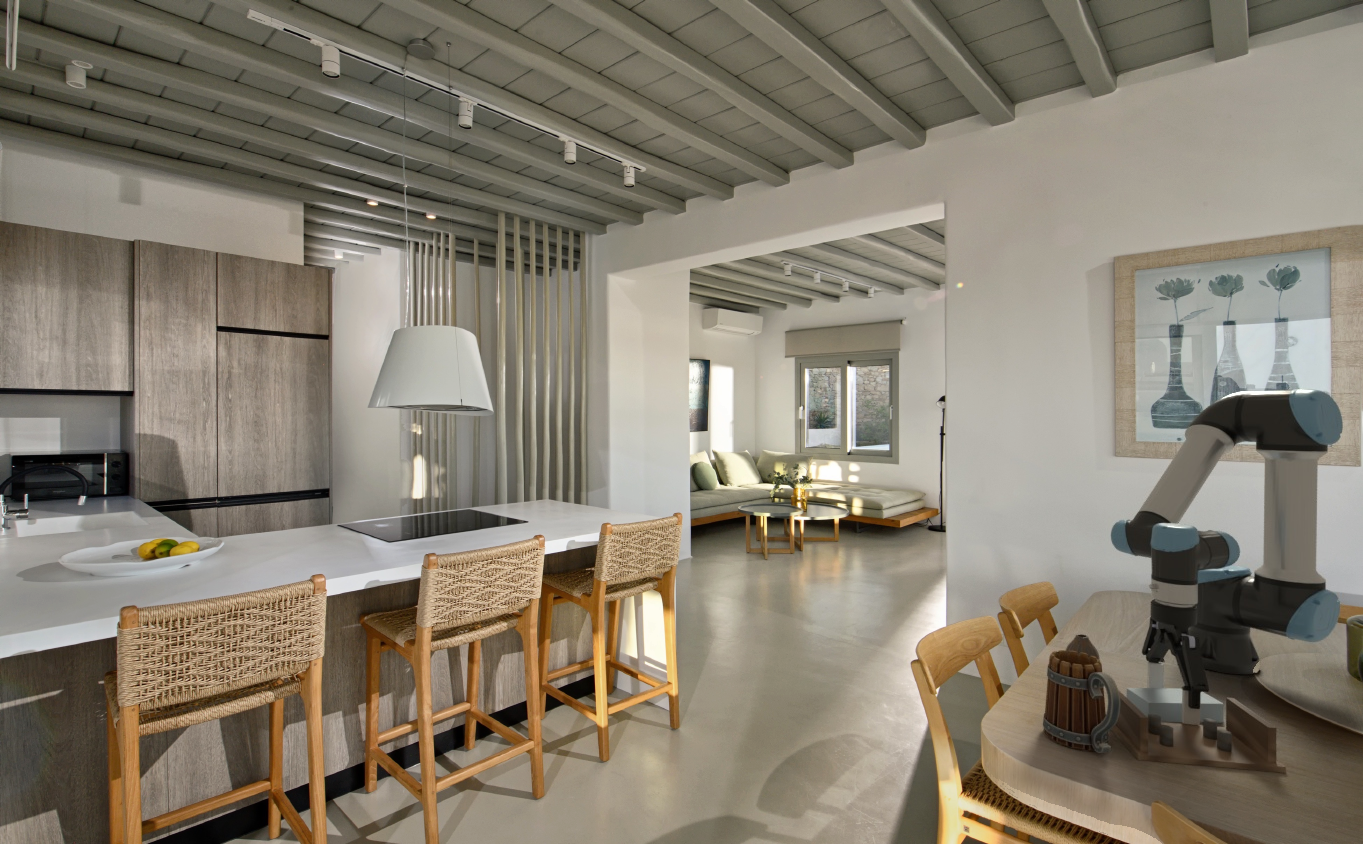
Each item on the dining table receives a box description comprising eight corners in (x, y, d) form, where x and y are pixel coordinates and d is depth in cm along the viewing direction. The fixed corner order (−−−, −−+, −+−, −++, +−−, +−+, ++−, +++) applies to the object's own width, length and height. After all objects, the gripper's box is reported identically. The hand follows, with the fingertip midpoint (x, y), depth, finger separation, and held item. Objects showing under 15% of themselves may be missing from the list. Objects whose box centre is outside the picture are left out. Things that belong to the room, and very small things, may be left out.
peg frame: (1235, 733, 125) (1235, 696, 125) (1285, 773, 111) (1286, 731, 111) (1104, 722, 129) (1104, 687, 129) (1137, 759, 116) (1137, 719, 115)
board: (1197, 708, 136) (1197, 688, 136) (1223, 724, 129) (1223, 703, 129) (1126, 707, 137) (1126, 687, 137) (1148, 723, 130) (1148, 702, 130)
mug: (1030, 726, 128) (1030, 648, 128) (1082, 723, 129) (1082, 646, 129) (1086, 769, 113) (1086, 681, 112) (1145, 766, 114) (1145, 678, 113)
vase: (1105, 680, 150) (1105, 641, 149) (1071, 678, 151) (1071, 639, 151) (1092, 668, 156) (1092, 631, 156) (1060, 667, 158) (1060, 630, 158)
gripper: (1124, 585, 146) (1123, 682, 146) (1186, 619, 121) (1184, 735, 121) (1163, 587, 144) (1162, 685, 144) (1233, 622, 120) (1231, 739, 120)
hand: (1172, 708), depth 133 cm, fingers open, 13 cm apart
